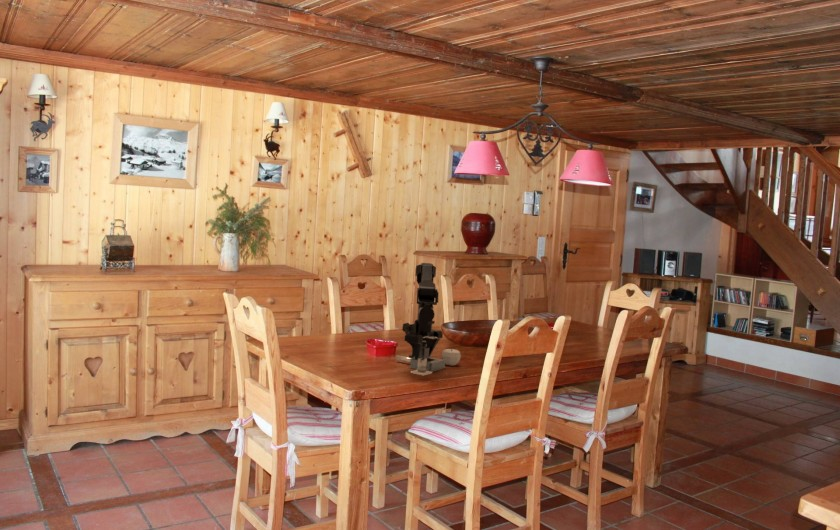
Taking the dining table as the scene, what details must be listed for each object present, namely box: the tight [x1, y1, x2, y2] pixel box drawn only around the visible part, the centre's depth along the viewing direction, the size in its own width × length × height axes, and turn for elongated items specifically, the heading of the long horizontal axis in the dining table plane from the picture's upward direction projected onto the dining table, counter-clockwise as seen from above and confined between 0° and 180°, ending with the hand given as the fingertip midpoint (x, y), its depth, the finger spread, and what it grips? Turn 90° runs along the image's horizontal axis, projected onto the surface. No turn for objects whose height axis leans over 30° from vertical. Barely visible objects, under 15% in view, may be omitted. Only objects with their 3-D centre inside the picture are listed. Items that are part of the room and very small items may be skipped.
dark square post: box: [416, 346, 430, 373], centre depth 276 cm, size 3×3×10 cm
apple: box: [441, 348, 462, 367], centre depth 295 cm, size 8×8×7 cm
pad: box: [410, 369, 433, 376], centre depth 277 cm, size 6×6×1 cm
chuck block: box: [395, 354, 446, 373], centre depth 288 cm, size 10×20×4 cm, turn 57°
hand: (422, 357), depth 276 cm, fingers open, 8 cm apart
